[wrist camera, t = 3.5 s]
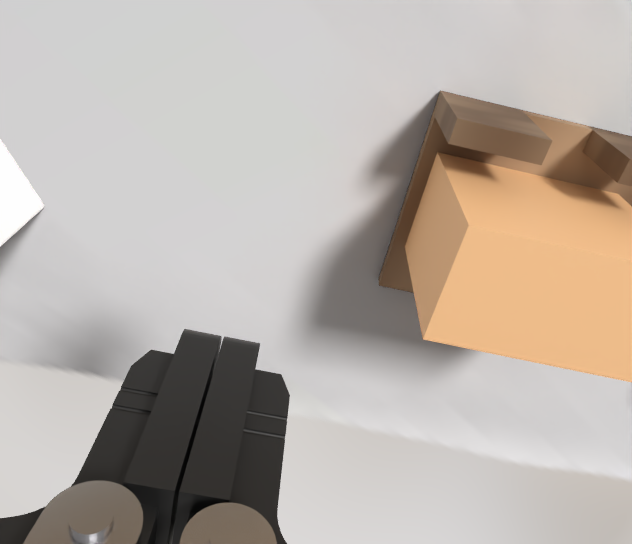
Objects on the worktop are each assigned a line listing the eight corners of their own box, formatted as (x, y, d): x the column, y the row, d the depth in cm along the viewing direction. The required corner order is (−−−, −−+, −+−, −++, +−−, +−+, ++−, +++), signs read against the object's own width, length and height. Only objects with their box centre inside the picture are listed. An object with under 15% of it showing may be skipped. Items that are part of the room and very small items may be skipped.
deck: (852, 189, 21) (938, 231, 18) (726, 352, 25) (778, 409, 22) (440, 90, 20) (457, 118, 17) (378, 279, 24) (383, 328, 21)
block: (618, 193, 21) (708, 278, 16) (570, 282, 23) (635, 383, 18) (437, 152, 20) (468, 225, 15) (404, 246, 22) (422, 339, 17)
